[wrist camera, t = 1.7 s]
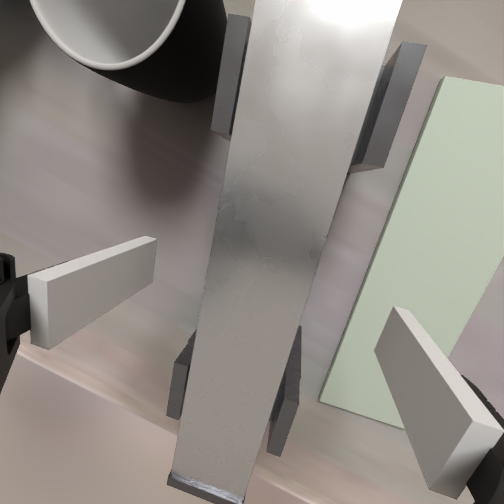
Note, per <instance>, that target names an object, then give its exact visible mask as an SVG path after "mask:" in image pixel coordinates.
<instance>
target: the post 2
mask: <svg viewBox="0 0 504 504" xmlns="http://www.w3.org/2000/svg"><path fill="white" fill-rule="evenodd" d="M251 25H252V24H251V21H250V18H249V17H246V16H240V15H233V14H228V20H227V27H226V33H225V40H224V46H223V52H222V59H221V65H220V72H219V78H218V85H217V91H216V98H215V104H214V111H213V117H212V123H211V131H213V132H215V133H217V134H218V135H220V136H222V137H223V138H225V139H227V140H229V141H231V137H232V131H233V125H234V120H235V114H236V109H237V103H238V97H239V92H240V86H241V81H242V75H243V69H244V64H245V58H246V53H247V47H248V42H249V36H250V30H251ZM426 48H427V45H422V44H415V43H409V42H402V43H401V45H400V46H399V47H398V49H397V50H396V52H395V53H394V54H393V56H392V57H391V59H390V60H389V61H388V63H387V64H386V66H382V65H381V68H380V72H379V75H378V78H377V81H376V84H375V87H374V90H373V94H372V97H371V100H370V103H369V106H368V109H367V112H366V116H365V119H364V122H363V125H362V128H361V131H360V134H359V137H358V141H357V144H356V147H355V150H354V153H353V156H352V159H351V163H350V166H349V169H348V173H356V172H363V171H370V170H373V169H379V168H384V165H385V162H386V159H387V157H388V154H389V151H390V148H391V145H392V143H393V140H394V137H395V134H396V131H397V129H398V126H399V123H400V120H401V117H402V115H403V112H404V109H405V106H406V103H407V101H408V98H409V95H410V92H411V89H412V87H413V84H414V81H415V78H416V75H417V73H418V70H419V67H420V64H421V61H422V59H423V56H424V53H425V50H426Z"/></svg>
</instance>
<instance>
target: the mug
mask: <svg viewBox="0 0 504 504" xmlns="http://www.w3.org/2000/svg"><path fill="white" fill-rule="evenodd" d="M30 3H31V5H32V7H33V10H34V12H35V14H36V16H37V18H38V20H39V22H40V23H41V25H42V27H43V28H44V30H45V31H46V33H47V34H48V35H49V37H50V38H51V39H52V40H53V42H54V43H55V44H56V45H57V46H58V47H59V48H60V49H61V50H62V51H63V52H65V53H66V54H67V55H68V56H69V57H71V58H72V59H74V60H75V61H77V62H78V63H80V64H81V65H83V66H85V67H87V68H89V69H90V70H92V71H94V72H96V73H98V74H100V75H102V76H104V77H106V78H108V79H110V80H113V81H115V82H117V83H119V84H122V85H124V86H127V87H129V88H131V89H134V90H137V91H139V92H142V93H145V94H147V95H150V96H153V97H157V98H160V99H164V100H168V101H173V102H182V103H189V102H195V101H199V100H201V99H204V98H205V97H207V96H209V95H210V94H211V93H212V92H214V91H215V89H216V88H217V85H218V78H219V72H220V65H221V59H222V52H223V46H224V40H225V33H226V27H227V17H226V12H225V8H224V4H223V0H30Z"/></svg>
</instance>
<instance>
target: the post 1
mask: <svg viewBox="0 0 504 504" xmlns="http://www.w3.org/2000/svg"><path fill="white" fill-rule="evenodd" d="M196 332H197V329H196V331H195V332H194V333H193V335H192V336H191V338H190V339H189V340H188V344H187V345H186V347H185V348H184V349H183V351H182V352H181V354H180V355H179V357H178V358H177V359H176V361H175V362H174V369H173V375H172V382H171V388H170V394H169V401H168V407H167V414H166V416H169V417H171V418H174V419H177V420H179V418H180V416H181V414H182V410H183V405H184V399H185V393H186V388H187V382H188V377H189V371H190V366H191V360H192V354H193V349H194V343H195V338H196ZM300 378H301V326H298V329H297V332H296V335H295V339H294V342H293V345H292V348H291V351H290V354H289V357H288V361H287V364H286V367H285V370H284V373H283V376H282V379H281V383H280V386H279V389H278V392H277V395H276V398H275V401H274V405H273V408H272V411H271V414H270V417H269V421H271V423H270V430H269V437H268V445H267V452H268V453H271V454H274V455H276V456H279V457H280V456H281V453H282V450H283V447H284V445H285V442H286V439H287V436H288V433H289V431H290V428H291V425H292V422H293V419H294V417H295V414H296V411H297V408H298V405H299V381H300Z"/></svg>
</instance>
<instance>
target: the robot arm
mask: <svg viewBox="0 0 504 504" xmlns="http://www.w3.org/2000/svg"><path fill="white" fill-rule="evenodd" d="M156 246H157V239H155V238H152V237H148V236H143V237H140V238H137V239H134V240H131V241H128V242H125V243H122V244H119V245H116V246H113V247H110V248H107V249H104V250H101V251H98V252H95V253H92V254H89V255H86V256H83V257H80V258H77V259H74V260H71V261H66V262H63V263H60V264H57V265H56V266H51V267H48V268H47V269H42V270H39V271H36V272H33V273H30V274H27V275H24V276H21V277H18V278H16V272H15V257H13V256H12V255H9V254H5V253H0V393H1V391H2V388H3V386H4V383H5V380H6V378H7V375H8V373H9V370H10V368H11V365H12V363H13V360H14V358H15V355H16V353H17V350H18V348H19V345H20V335H21V334H23V333H25V332H27V331H28V330H30V336H31V344H34V345H36V346H39V347H42V348H45V349H47V350H50V349H51V348H53V347H54V346H56V345H57V344H59V343H60V342H62V341H63V340H65V339H66V338H68V337H70V336H71V335H73V334H74V333H76V332H77V331H79V330H80V329H82V328H83V327H85V326H86V325H88V324H89V323H91V322H92V321H94V320H96V319H97V318H99V317H100V316H102V315H103V314H105V313H106V312H108V311H109V310H111V309H112V308H114V307H115V306H117V305H119V304H120V303H122V302H123V301H125V300H126V299H128V298H129V297H131V296H132V295H134V294H135V293H137V292H138V291H140V290H141V289H143V288H145V287H146V286H148V285H149V284H151V283H152V282H153V273H154V264H155V255H156ZM374 352H375V354H376V357H377V360H378V362H379V365H380V367H381V370H382V372H383V375H384V377H385V380H386V382H387V385H388V387H389V390H390V392H391V395H392V397H393V400H394V402H395V405H396V407H397V410H398V413H399V415H400V418H401V420H402V423H403V425H404V428H405V430H406V433H407V435H408V438H409V440H410V443H411V445H412V448H413V450H414V453H415V455H416V458H417V461H418V463H419V466H420V468H421V471H422V473H423V476H424V478H425V481H426V483H427V486H428V488H429V490H432V491H434V492H437V493H440V494H443V495H445V496H448V497H451V498H454V499H456V500H457V498H458V497H459V495H460V494H461V493H462V491H463V490H464V488H465V487H466V485H467V487H468V489H469V490H470V492H471V494H472V496H473V498H474V500H475V502H474V503H473V504H504V419H503V418H502V417H501V416H500V414H499V413H498V412H496V411H495V410H496V409H495V408H494V407H493V406H492V405H491V403H490V402H488V401H487V399H486V397H485V396H484V395H483V394H482V393H481V391H480V390H479V389H478V388H477V387H476V386H475V385H474V384H473V383H471V382H470V381H469V380H468V379H467V378H466V377H464V376H463V375H460V374H459V373H458V371H457V370H456V369H455V368H454V366H453V365H452V364H451V363H450V361H449V360H448V359H447V358H446V356H445V355H444V354H443V353H442V351H441V350H440V349H439V347H438V346H437V345H436V344H435V342H434V341H433V340H432V339H431V337H430V336H429V335H428V334H427V332H426V331H425V330H424V329H423V327H422V326H421V325H420V324H419V322H418V321H417V320H416V318H415V317H414V316H413V315H412V313H411V312H410V311H409V310H406V309H403V308H399V307H396V306H393V308H392V310H391V312H390V314H389V317H388V319H387V321H386V324H385V326H384V328H383V331H382V333H381V335H380V337H379V340H378V342H377V344H376V347H375V349H374Z"/></svg>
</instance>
